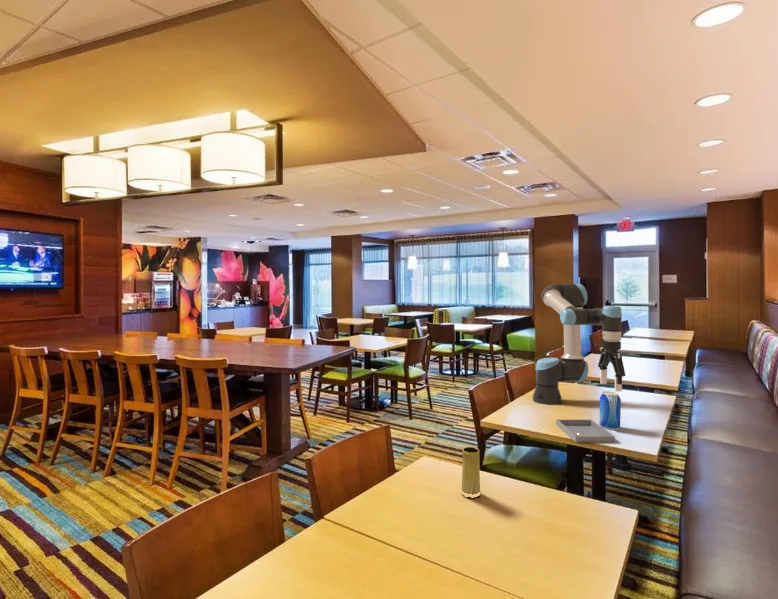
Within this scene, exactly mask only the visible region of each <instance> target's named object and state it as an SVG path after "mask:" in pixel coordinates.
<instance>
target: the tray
mask: <svg viewBox="0 0 778 599" xmlns="http://www.w3.org/2000/svg"><path fill="white" fill-rule="evenodd" d="M555 421H556V422H555V426H557V427H558V428H559V429H560V430H561V431H562V432H564V433H565V435H567V436H568V437H569V438H570V439H571V441H572V440H573V442H574V443H616V439H615V438H616V437H615V435H614V434H612V433H611V432H609V431H608V429H605V428H603V427H601V426H600V424H599V423H597V422H596V421H594V420H593V419H556V420H555ZM578 432H581V433H582V434H583V435H584V436H576V434H577V433H578Z"/></svg>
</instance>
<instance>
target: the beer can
mask: <svg viewBox="0 0 778 599" xmlns="http://www.w3.org/2000/svg"><path fill="white" fill-rule="evenodd" d="M621 402H622V398H621V396H620V395H619V393H618V392H617V391H607V390H606V391H602V393H601V395H600V396H599V423H598V425H600V426H601V427H602V428H604V429H605V430H610V431H611V430H613V431H618V430H619V429H620V428H621V415H622V414H621V406H622V404H621Z"/></svg>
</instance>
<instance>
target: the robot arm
mask: <svg viewBox="0 0 778 599" xmlns="http://www.w3.org/2000/svg"><path fill="white" fill-rule="evenodd" d="M540 298H541V301H542V302H543V304H545V305H546V306H547V307H549V308H551V309H552V310H554V311H555V312H556V313H557V314H558V315H559V319H560V322H561V324H562V325H563V354H562V355H561V356H560V359H559V358H557V357H544V358H540V359H538V360H537V361H536V367H535V370H536V372H535V378H536V379H535V380H536V381H535V382H536V383H535V388H534V391H533V394H532V401H533V402H536V403H538V404H543V405H559V404H561V403H562V402H563V401H562V400H563V398H562V395H561V392H560V389H559V384H560V383H582V382H585V381H586V379H587V378H588V376H589V364H588V362H587V361H586V360H585V357H584V356H582V354H581V353H582V350H581V349H582V342H581V340H582V339H581V335H582V334H581V326H602V333H601V336H602V342H601V352H600V357H599V359H598V360H599V361H598V364H597V367H598V368H599V369H600V376H599V377H600V380H599V381H600V382H599V383H600V384H601V385H607V384H608V366H609V364H611V365H612V367H613V370H614V373H615V375H614V392H623V377H626V372H625V367H624V363H623V355H622V353H620V352H619V351H620V350H621V349H622V342H621V340H622V322H623V320H622V319H623V317H622V316H623V314H622V312H623V311H622V307H621V306H619V305H604V306H603V307H602V308H584V305H586V304H587V302H588V292H587V289H586V288H585V286H584V285H583V284H581V283H553V284H550V285H549V284H548V286H546V287H545V288H544V289H543V290H542V292H541V297H540ZM618 352H619V353H618Z"/></svg>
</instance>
